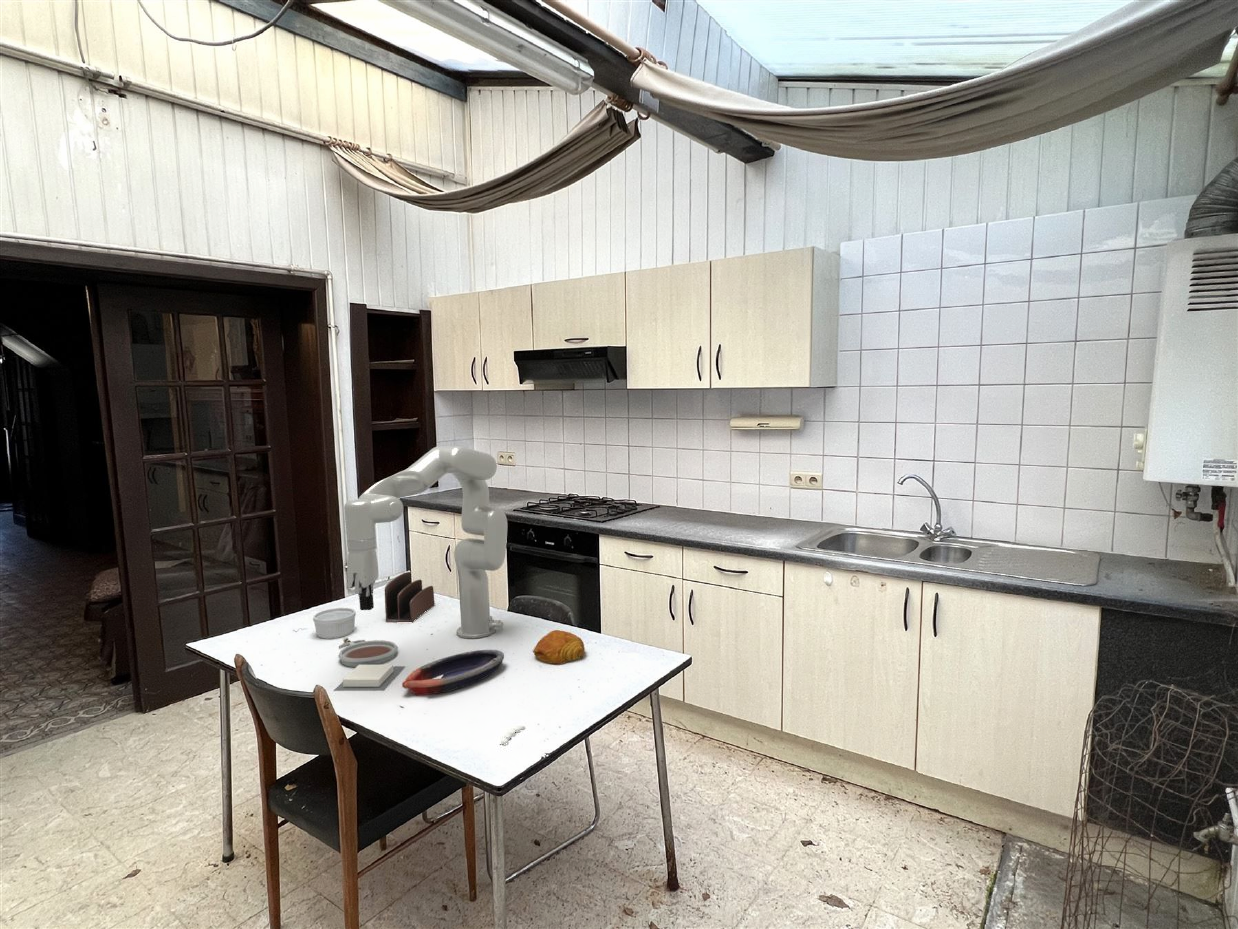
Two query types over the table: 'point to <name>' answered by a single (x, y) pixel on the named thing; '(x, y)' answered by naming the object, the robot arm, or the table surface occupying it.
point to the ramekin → (334, 622)
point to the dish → (453, 671)
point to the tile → (368, 676)
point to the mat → (381, 688)
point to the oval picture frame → (366, 652)
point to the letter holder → (406, 599)
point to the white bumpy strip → (511, 733)
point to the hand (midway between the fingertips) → (367, 609)
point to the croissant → (559, 647)
